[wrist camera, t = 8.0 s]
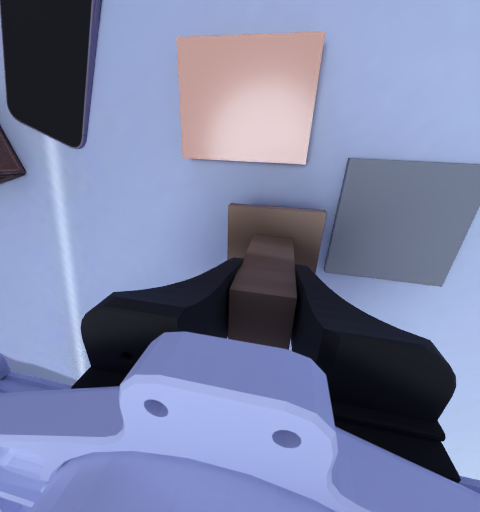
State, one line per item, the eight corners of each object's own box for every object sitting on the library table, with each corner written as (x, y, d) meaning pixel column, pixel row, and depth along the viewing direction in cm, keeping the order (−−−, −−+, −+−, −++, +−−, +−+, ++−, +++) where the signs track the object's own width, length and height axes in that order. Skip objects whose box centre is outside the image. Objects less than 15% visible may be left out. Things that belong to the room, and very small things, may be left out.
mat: (438, 283, 19) (441, 286, 18) (324, 269, 20) (324, 272, 20) (492, 165, 15) (498, 165, 15) (348, 158, 16) (350, 158, 16)
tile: (305, 164, 16) (325, 31, 13) (182, 158, 17) (176, 36, 14) (303, 163, 18) (320, 46, 15) (192, 157, 19) (188, 49, 16)
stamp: (309, 292, 17) (325, 389, 10) (229, 281, 18) (190, 363, 11) (324, 210, 14) (360, 259, 7) (231, 203, 15) (183, 240, 8)
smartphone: (6, 115, 20) (-14, -172, 13) (20, 117, 21) (8, -149, 14) (82, 153, 20) (102, -114, 13) (92, 153, 21) (116, -95, 14)
